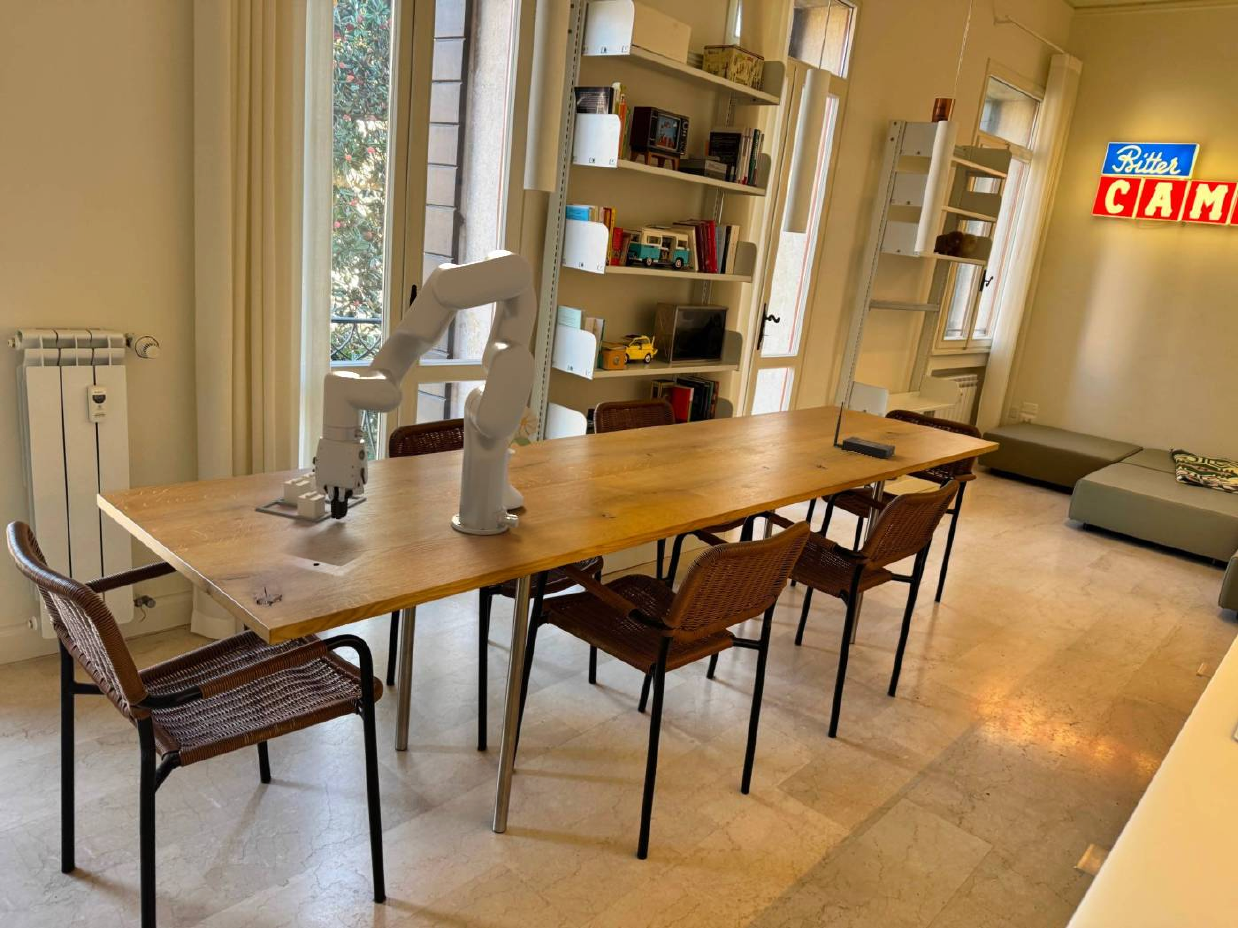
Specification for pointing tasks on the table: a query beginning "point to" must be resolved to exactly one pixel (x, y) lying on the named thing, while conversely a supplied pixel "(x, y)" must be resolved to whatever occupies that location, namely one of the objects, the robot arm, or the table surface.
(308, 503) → the cream block
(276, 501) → the switch bank
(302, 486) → the cream block with ridge
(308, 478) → the cream block with bar
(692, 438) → the table surface
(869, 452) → the wireless controller
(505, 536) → the table surface
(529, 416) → the flower in vase
